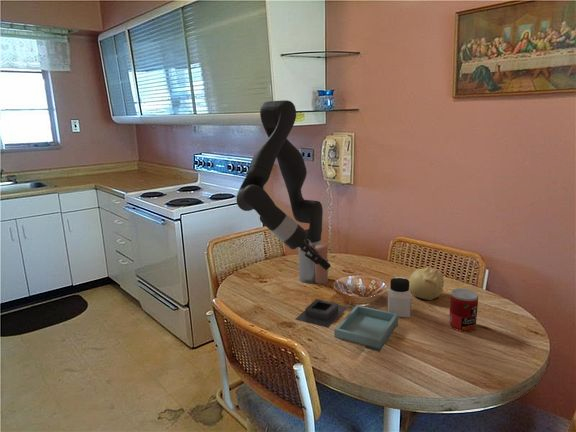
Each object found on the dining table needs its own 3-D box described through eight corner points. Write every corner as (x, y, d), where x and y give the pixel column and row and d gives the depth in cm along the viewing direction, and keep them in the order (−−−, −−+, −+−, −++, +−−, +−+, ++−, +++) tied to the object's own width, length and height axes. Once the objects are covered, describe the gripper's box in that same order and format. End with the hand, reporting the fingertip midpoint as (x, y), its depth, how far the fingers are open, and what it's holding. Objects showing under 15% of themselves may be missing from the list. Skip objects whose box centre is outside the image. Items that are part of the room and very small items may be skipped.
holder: (316, 302, 148) (316, 293, 147) (347, 309, 142) (347, 300, 141) (294, 322, 135) (294, 312, 134) (328, 330, 129) (327, 320, 128)
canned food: (464, 334, 124) (466, 301, 121) (443, 323, 131) (445, 291, 128) (481, 328, 127) (484, 295, 124) (460, 317, 134) (462, 286, 131)
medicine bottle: (410, 318, 135) (412, 284, 132) (388, 316, 136) (389, 283, 133) (408, 308, 142) (410, 275, 139) (387, 306, 143) (388, 274, 140)
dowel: (318, 278, 138) (318, 244, 135) (329, 280, 136) (329, 245, 133) (313, 282, 135) (312, 247, 132) (324, 284, 133) (323, 249, 130)
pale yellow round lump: (439, 305, 143) (440, 276, 140) (404, 298, 149) (405, 270, 146) (446, 293, 152) (447, 265, 150) (413, 287, 158) (414, 260, 156)
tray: (356, 314, 138) (356, 305, 137) (397, 323, 131) (398, 313, 130) (334, 339, 123) (334, 329, 122) (379, 351, 116) (380, 340, 115)
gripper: (299, 229, 123) (339, 264, 127) (295, 217, 137) (331, 250, 141) (282, 247, 124) (323, 282, 128) (279, 233, 138) (316, 265, 142)
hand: (327, 265), depth 134 cm, fingers closed on dowel, 4 cm apart
